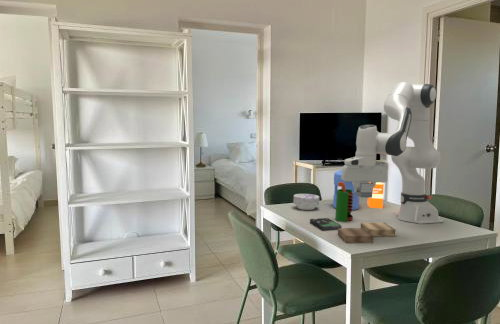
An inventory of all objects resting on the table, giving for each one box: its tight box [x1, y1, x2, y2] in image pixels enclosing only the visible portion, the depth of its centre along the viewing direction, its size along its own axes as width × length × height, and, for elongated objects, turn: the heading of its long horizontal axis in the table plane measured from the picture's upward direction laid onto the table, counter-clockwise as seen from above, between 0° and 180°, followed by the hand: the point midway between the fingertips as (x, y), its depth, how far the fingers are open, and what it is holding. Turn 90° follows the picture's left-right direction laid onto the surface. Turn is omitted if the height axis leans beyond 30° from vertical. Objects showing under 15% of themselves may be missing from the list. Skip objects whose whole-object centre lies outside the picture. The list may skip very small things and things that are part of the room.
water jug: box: [332, 163, 361, 211], centre depth 228 cm, size 16×16×28 cm
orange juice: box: [366, 182, 385, 209], centre depth 232 cm, size 8×9×20 cm
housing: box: [355, 182, 373, 199], centre depth 169 cm, size 5×8×6 cm, turn 3°
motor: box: [334, 182, 354, 223], centre depth 200 cm, size 10×9×20 cm
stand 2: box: [360, 222, 396, 237], centre depth 179 cm, size 12×12×3 cm
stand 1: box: [337, 227, 374, 244], centre depth 169 cm, size 12×12×3 cm
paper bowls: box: [292, 193, 320, 211], centre depth 226 cm, size 15×15×8 cm
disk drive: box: [309, 217, 343, 232], centre depth 188 cm, size 10×3×15 cm
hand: (363, 191), depth 169 cm, fingers closed on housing, 5 cm apart
